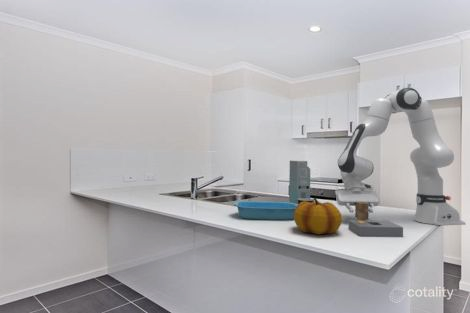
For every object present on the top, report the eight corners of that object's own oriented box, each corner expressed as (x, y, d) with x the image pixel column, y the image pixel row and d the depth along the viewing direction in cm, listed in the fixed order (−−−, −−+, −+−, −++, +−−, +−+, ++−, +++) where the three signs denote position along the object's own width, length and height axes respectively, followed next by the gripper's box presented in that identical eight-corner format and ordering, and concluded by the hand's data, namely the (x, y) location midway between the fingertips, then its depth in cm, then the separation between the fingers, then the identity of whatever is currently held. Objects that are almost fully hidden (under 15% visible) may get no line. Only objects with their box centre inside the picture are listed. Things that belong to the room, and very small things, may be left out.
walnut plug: (363, 223, 153) (363, 201, 152) (368, 226, 147) (368, 203, 146) (355, 223, 153) (355, 201, 152) (359, 226, 147) (360, 203, 146)
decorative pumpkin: (294, 236, 128) (294, 200, 127) (293, 224, 149) (293, 193, 149) (345, 239, 124) (345, 202, 124) (336, 226, 146) (337, 195, 146)
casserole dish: (296, 213, 179) (297, 201, 179) (305, 221, 157) (305, 207, 157) (233, 212, 179) (233, 200, 179) (232, 220, 157) (232, 206, 157)
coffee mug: (310, 220, 159) (311, 201, 158) (294, 218, 163) (295, 199, 163) (317, 216, 168) (318, 198, 168) (302, 215, 173) (302, 197, 173)
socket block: (387, 229, 142) (387, 219, 142) (402, 236, 129) (403, 225, 129) (348, 228, 142) (348, 218, 142) (359, 236, 129) (359, 225, 129)
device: (309, 213, 178) (310, 161, 178) (296, 213, 177) (297, 161, 177) (300, 208, 194) (301, 160, 194) (288, 208, 194) (289, 160, 193)
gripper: (335, 185, 157) (341, 207, 147) (375, 185, 157) (384, 208, 147) (332, 192, 162) (338, 215, 152) (371, 193, 161) (380, 215, 152)
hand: (361, 211), depth 149 cm, fingers open, 8 cm apart
